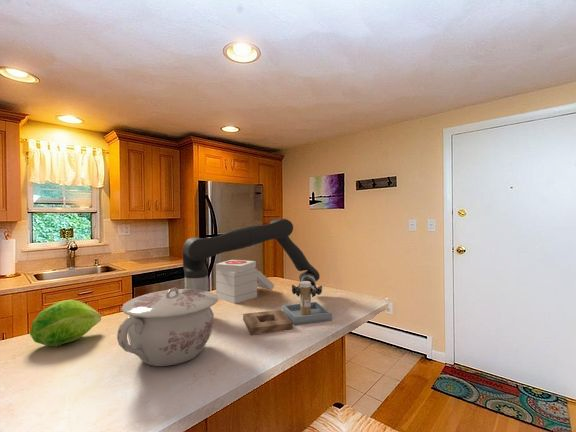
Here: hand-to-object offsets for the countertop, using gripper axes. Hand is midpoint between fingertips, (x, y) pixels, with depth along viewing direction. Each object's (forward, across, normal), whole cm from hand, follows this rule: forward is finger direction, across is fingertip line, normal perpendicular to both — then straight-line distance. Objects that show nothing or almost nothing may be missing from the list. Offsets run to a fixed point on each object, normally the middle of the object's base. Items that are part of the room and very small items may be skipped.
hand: (305, 294), depth 123 cm
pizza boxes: (-31, -34, +10) cm, 47 cm away
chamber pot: (+37, -39, +10) cm, 54 cm away
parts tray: (-3, 0, +10) cm, 10 cm away
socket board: (+9, -15, +10) cm, 20 cm away
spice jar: (-3, 0, +9) cm, 9 cm away
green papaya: (+31, -79, +10) cm, 86 cm away
